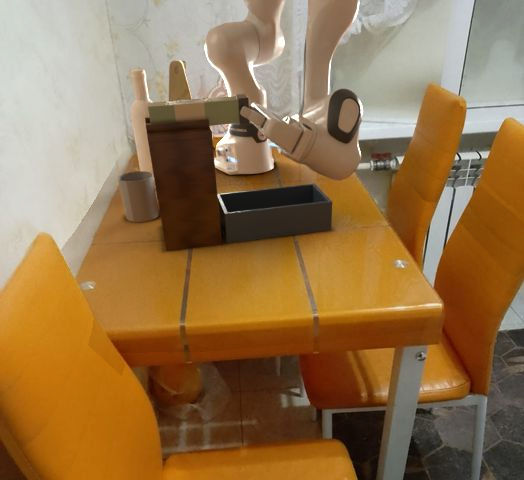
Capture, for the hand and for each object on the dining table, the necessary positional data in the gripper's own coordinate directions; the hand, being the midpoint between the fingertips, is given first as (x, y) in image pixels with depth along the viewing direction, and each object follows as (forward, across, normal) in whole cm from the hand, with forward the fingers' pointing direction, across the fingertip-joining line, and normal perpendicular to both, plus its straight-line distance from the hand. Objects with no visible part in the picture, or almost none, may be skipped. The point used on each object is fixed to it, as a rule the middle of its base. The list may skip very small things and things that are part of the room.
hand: (238, 106), depth 101 cm
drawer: (+6, 0, +6) cm, 9 cm away
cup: (+7, -16, +35) cm, 39 cm away
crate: (-19, 0, +20) cm, 27 cm away
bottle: (+4, -41, +33) cm, 52 cm away
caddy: (-9, -71, +25) cm, 76 cm away
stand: (-2, 0, +29) cm, 29 cm away
